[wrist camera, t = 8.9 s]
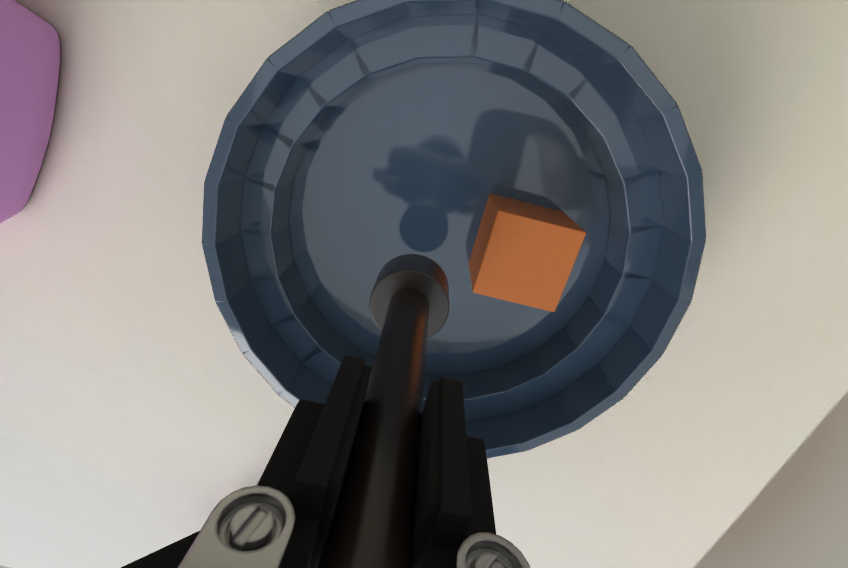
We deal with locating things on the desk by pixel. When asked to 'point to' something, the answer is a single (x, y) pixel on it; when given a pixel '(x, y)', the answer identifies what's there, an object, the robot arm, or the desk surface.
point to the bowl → (455, 203)
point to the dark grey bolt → (389, 422)
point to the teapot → (24, 101)
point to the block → (524, 252)
